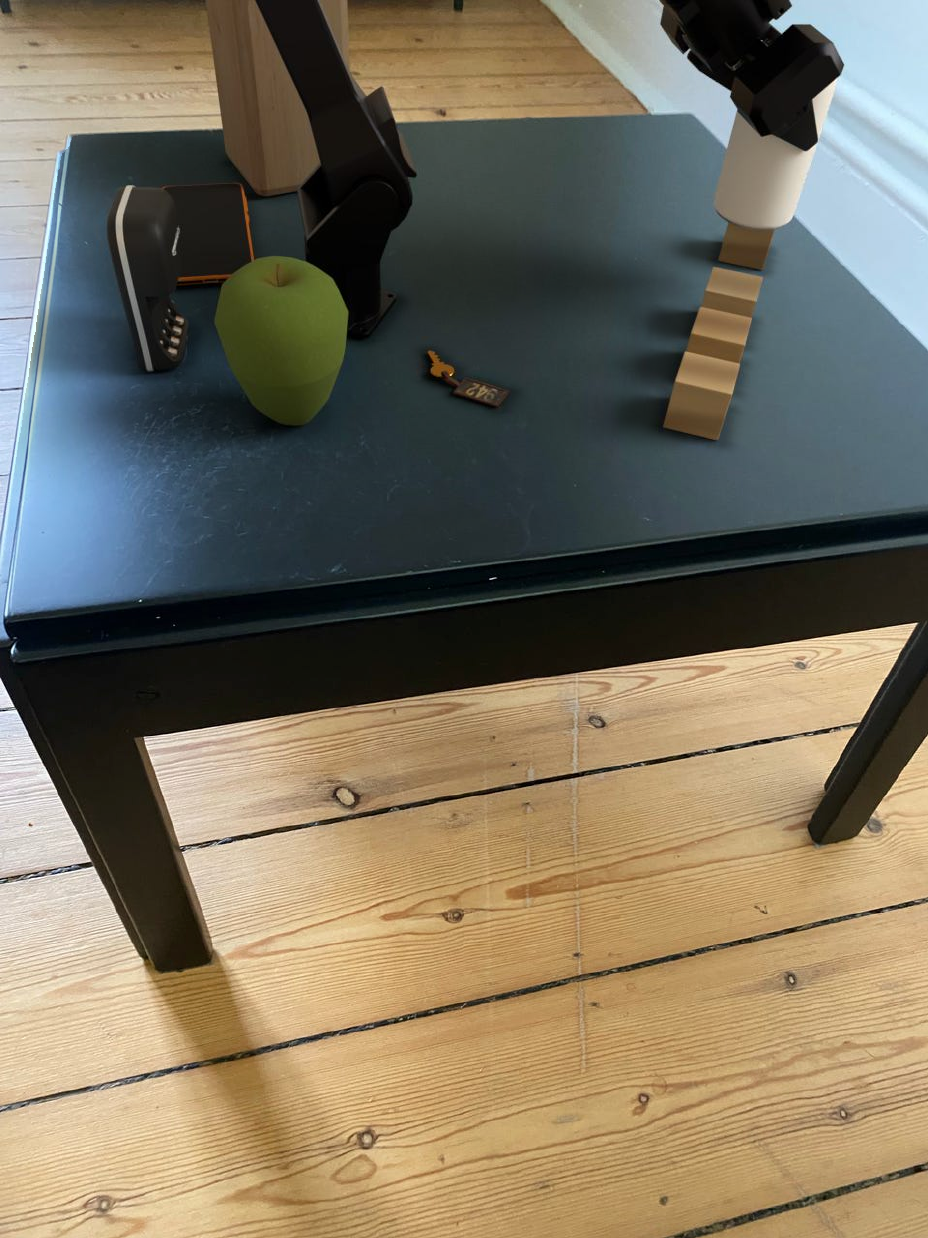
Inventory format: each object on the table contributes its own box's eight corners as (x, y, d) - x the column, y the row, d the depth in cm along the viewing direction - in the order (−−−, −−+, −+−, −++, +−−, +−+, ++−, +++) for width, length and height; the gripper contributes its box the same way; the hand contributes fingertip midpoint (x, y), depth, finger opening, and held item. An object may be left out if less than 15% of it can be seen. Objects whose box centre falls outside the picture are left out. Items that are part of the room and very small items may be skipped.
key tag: (514, 395, 70) (515, 388, 70) (489, 413, 69) (490, 406, 68) (430, 351, 73) (430, 344, 73) (404, 368, 72) (404, 361, 71)
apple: (218, 393, 69) (191, 240, 60) (329, 371, 71) (320, 221, 63) (250, 466, 64) (226, 311, 55) (369, 439, 66) (364, 286, 57)
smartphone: (164, 288, 77) (162, 278, 77) (161, 194, 88) (160, 185, 87) (258, 281, 79) (257, 272, 78) (244, 190, 89) (243, 181, 89)
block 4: (717, 441, 68) (732, 394, 65) (662, 427, 69) (674, 380, 66) (725, 409, 71) (740, 363, 68) (672, 397, 71) (685, 350, 68)
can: (781, 196, 79) (831, 36, 70) (800, 234, 75) (857, 68, 66) (705, 192, 79) (746, 30, 70) (720, 230, 75) (766, 63, 66)
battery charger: (191, 375, 70) (162, 225, 61) (138, 375, 70) (101, 224, 61) (201, 323, 75) (175, 176, 66) (151, 323, 74) (119, 175, 66)
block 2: (742, 346, 76) (756, 301, 73) (693, 335, 77) (705, 290, 74) (749, 321, 79) (762, 276, 76) (701, 310, 80) (713, 266, 77)
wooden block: (224, 158, 94) (190, -89, 79) (319, 143, 97) (304, -97, 82) (258, 202, 88) (228, -55, 73) (357, 184, 92) (349, -65, 76)
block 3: (730, 391, 72) (745, 344, 69) (678, 379, 73) (690, 332, 70) (738, 363, 75) (752, 317, 72) (687, 351, 75) (699, 305, 72)
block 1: (762, 270, 85) (775, 227, 82) (717, 261, 85) (729, 217, 82) (767, 250, 87) (781, 207, 84) (724, 241, 88) (736, 198, 85)
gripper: (872, -116, 53) (958, 94, 63) (742, -185, 65) (832, 1, 75) (704, 42, 58) (810, 214, 68) (612, -50, 69) (714, 109, 80)
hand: (793, 127), depth 72 cm, fingers closed on can, 6 cm apart
